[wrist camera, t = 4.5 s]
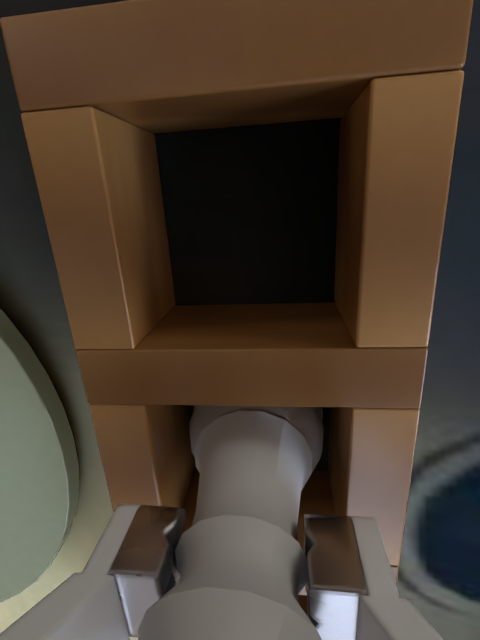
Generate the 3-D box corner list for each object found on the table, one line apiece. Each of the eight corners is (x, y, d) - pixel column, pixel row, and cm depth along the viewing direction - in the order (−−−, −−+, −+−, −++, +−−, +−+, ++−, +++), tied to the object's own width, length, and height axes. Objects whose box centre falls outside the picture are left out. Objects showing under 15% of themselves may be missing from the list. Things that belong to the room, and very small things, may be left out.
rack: (94, 76, 9) (-5, 15, 6) (405, 42, 8) (483, -52, 5) (181, 600, 16) (157, 701, 13) (357, 615, 15) (378, 729, 12)
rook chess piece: (237, 330, 12) (156, 584, 4) (348, 399, 12) (461, 747, 4) (174, 422, 13) (31, 729, 6) (275, 480, 13) (266, 840, 6)
